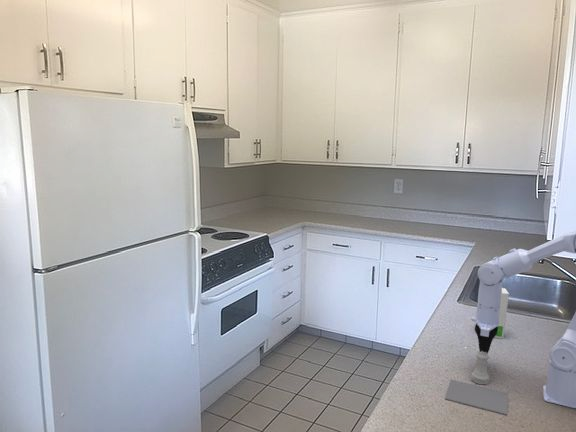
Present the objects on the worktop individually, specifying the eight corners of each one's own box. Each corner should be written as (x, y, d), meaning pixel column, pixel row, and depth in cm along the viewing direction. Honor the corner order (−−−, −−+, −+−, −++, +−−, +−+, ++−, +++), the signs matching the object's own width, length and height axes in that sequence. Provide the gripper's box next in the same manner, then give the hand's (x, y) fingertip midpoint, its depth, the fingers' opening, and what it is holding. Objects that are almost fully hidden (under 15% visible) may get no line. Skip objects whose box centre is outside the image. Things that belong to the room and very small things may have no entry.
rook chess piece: (467, 378, 127) (470, 350, 126) (480, 375, 128) (483, 348, 127) (479, 386, 123) (482, 358, 121) (492, 383, 124) (495, 355, 123)
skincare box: (477, 336, 154) (481, 290, 152) (474, 328, 161) (478, 284, 158) (504, 339, 152) (509, 293, 150) (500, 331, 159) (505, 286, 156)
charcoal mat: (508, 394, 119) (508, 393, 119) (506, 415, 110) (507, 414, 110) (450, 380, 126) (450, 379, 126) (444, 399, 116) (444, 398, 116)
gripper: (475, 294, 136) (471, 338, 138) (470, 310, 123) (465, 358, 125) (502, 298, 133) (497, 343, 135) (499, 315, 120) (494, 365, 122)
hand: (483, 351), depth 130 cm, fingers closed
